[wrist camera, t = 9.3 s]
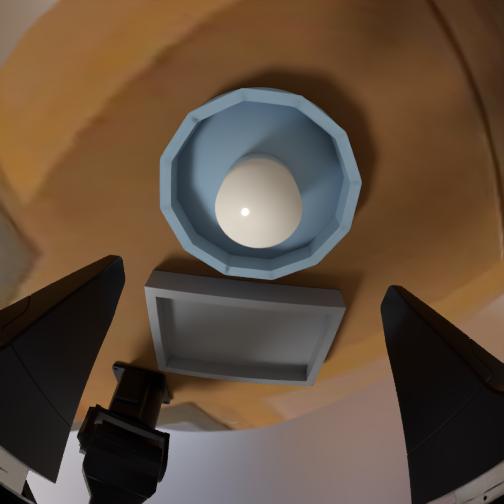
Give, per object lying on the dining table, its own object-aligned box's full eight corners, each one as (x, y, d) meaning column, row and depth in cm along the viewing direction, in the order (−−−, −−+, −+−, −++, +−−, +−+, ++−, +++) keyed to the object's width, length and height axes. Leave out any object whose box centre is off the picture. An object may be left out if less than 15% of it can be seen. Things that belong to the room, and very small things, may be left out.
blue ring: (330, 272, 22) (335, 288, 20) (167, 254, 21) (159, 269, 20) (368, 107, 16) (380, 109, 14) (170, 82, 15) (159, 81, 13)
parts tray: (310, 368, 28) (312, 385, 26) (163, 353, 28) (158, 370, 26) (340, 290, 23) (346, 307, 21) (153, 270, 22) (144, 286, 20)
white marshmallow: (288, 221, 19) (294, 252, 16) (222, 213, 19) (212, 243, 16) (299, 156, 17) (309, 173, 14) (227, 148, 17) (218, 162, 13)
